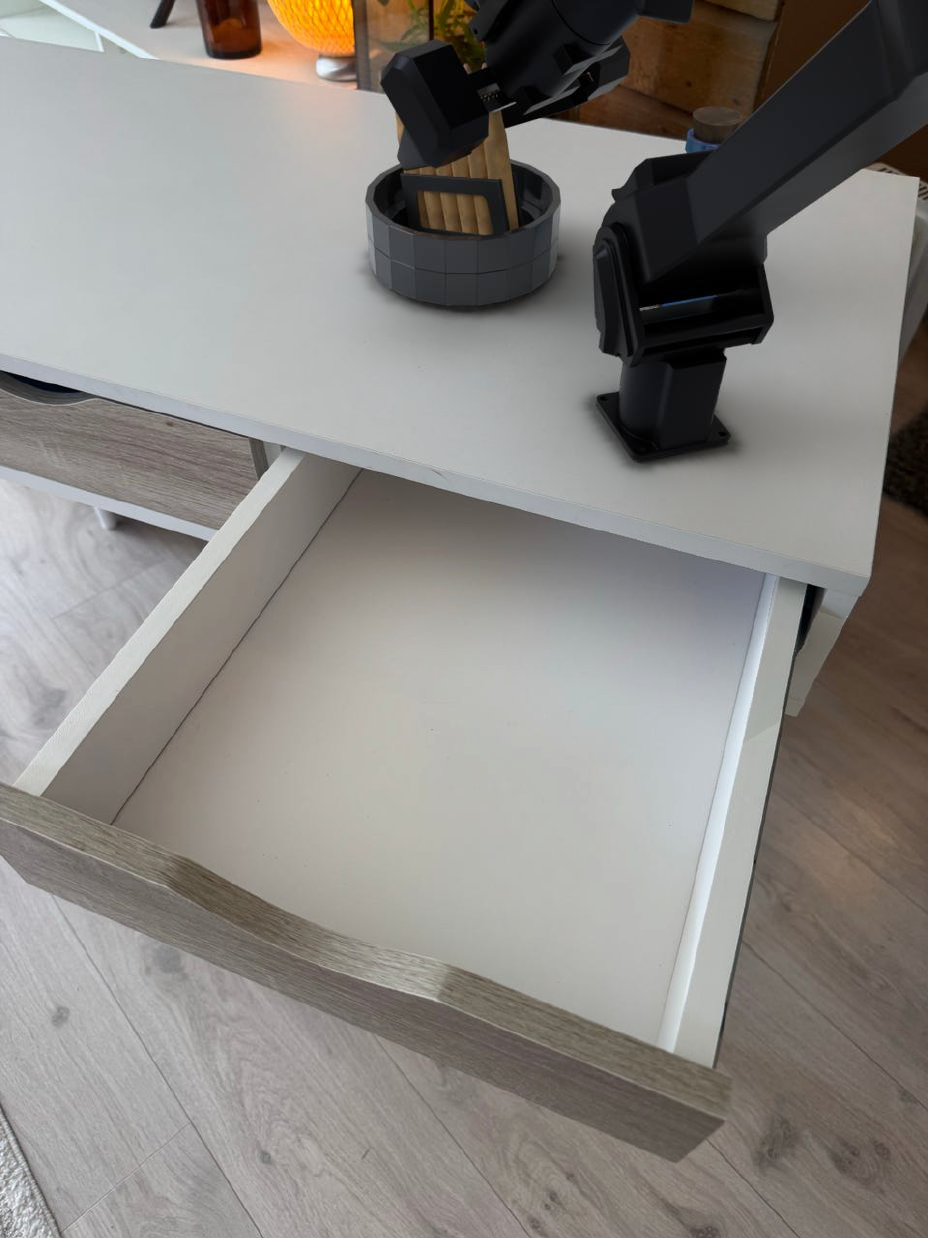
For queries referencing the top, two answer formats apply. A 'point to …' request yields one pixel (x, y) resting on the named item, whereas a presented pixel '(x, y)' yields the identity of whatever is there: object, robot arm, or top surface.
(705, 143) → the perfume bottle
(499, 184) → the ammunition clip
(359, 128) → the top surface
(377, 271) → the bowl
